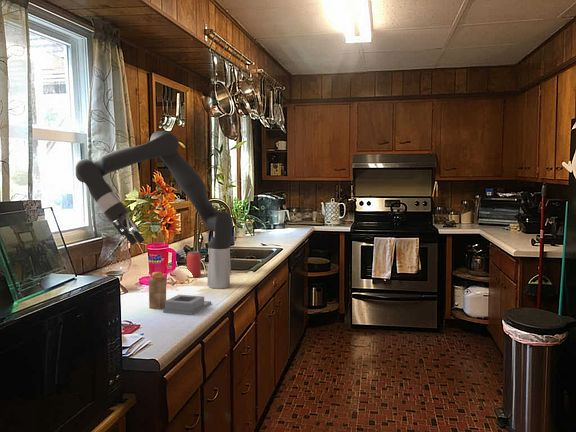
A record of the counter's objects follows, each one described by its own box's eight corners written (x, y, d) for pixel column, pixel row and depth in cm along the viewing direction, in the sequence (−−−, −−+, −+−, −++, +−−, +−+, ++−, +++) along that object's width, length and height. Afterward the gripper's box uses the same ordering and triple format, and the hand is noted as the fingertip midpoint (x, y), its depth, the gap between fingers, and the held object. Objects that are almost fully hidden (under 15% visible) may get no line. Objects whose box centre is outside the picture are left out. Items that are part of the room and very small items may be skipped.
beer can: (185, 275, 248) (185, 251, 247) (199, 274, 251) (199, 250, 250) (188, 278, 242) (187, 253, 241) (202, 277, 245) (201, 252, 244)
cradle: (163, 312, 184) (162, 301, 184) (183, 301, 200) (183, 291, 199) (192, 315, 181) (192, 303, 181) (211, 303, 197) (211, 293, 196)
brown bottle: (149, 308, 190) (148, 273, 189) (155, 305, 194) (155, 271, 193) (160, 309, 189) (159, 274, 187) (166, 306, 193) (165, 272, 192)
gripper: (113, 200, 181) (140, 237, 181) (127, 201, 195) (152, 235, 195) (96, 213, 181) (123, 250, 181) (111, 213, 195) (137, 247, 195)
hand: (138, 242), depth 188 cm, fingers open, 8 cm apart
